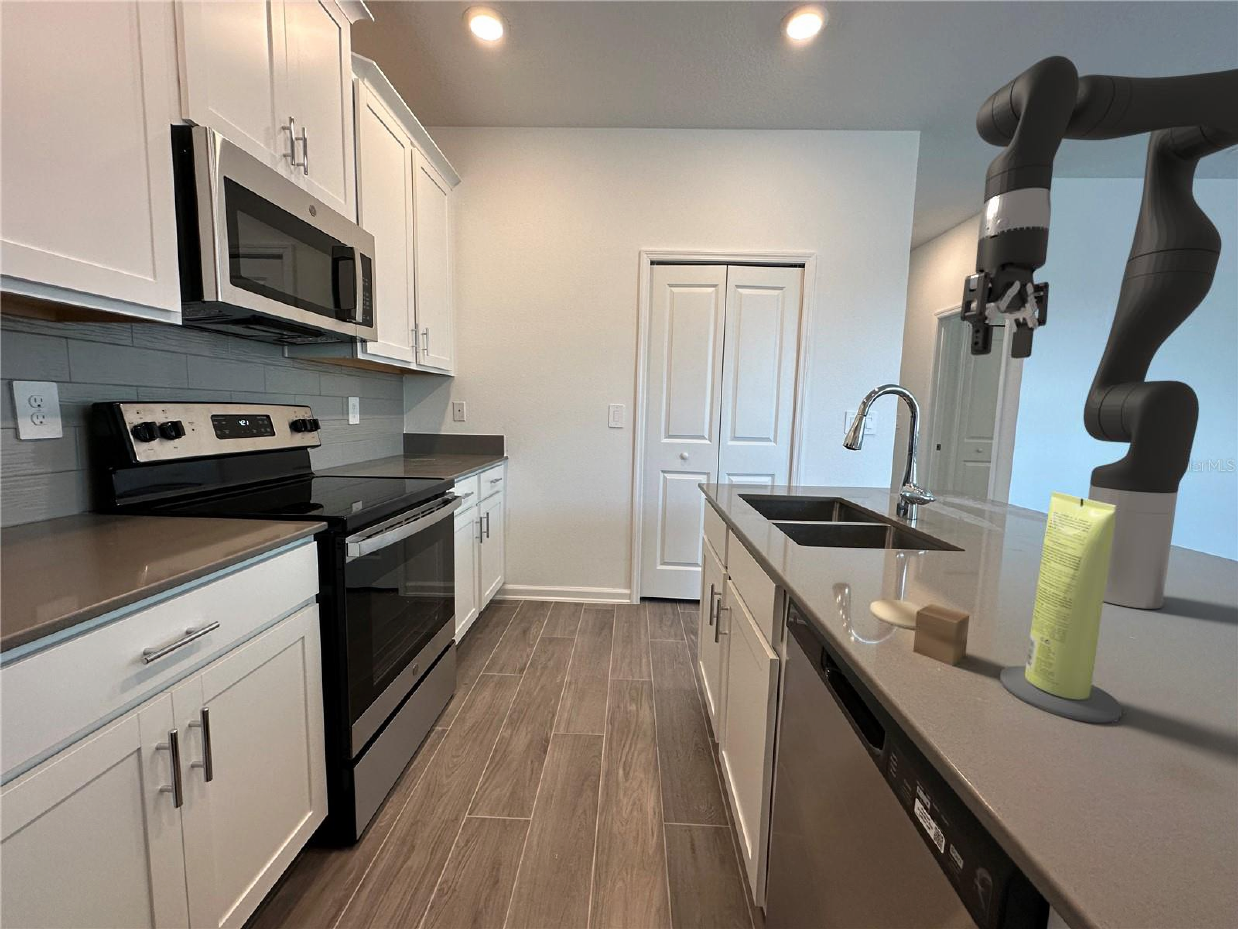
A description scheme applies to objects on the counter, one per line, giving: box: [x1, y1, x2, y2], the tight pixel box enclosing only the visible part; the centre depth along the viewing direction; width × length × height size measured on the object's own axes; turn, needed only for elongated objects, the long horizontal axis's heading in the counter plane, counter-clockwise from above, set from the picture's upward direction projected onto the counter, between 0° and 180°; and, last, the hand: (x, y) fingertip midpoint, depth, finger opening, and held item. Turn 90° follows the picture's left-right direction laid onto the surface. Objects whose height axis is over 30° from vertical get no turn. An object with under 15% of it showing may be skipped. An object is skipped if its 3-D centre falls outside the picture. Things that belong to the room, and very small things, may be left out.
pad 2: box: [999, 665, 1122, 724], centre depth 49 cm, size 9×9×1 cm
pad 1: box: [869, 599, 927, 631], centre depth 68 cm, size 9×9×1 cm
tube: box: [1025, 490, 1116, 700], centre depth 48 cm, size 6×5×20 cm
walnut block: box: [913, 603, 970, 667], centre depth 57 cm, size 4×4×5 cm
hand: (1000, 356), depth 67 cm, fingers open, 8 cm apart
